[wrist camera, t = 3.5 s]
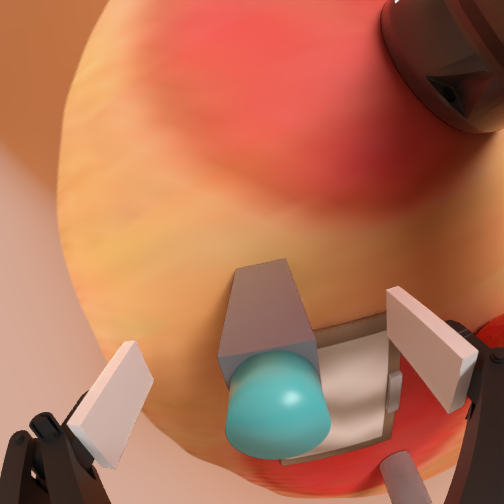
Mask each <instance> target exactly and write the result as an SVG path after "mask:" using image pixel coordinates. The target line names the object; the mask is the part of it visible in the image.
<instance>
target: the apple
mask: <svg viewBox="0 0 504 504" xmlns="http://www.w3.org/2000/svg"><path fill="white" fill-rule="evenodd" d="M476 336H477V337H478V338H479V339H480V340H481V341H483V342H484V343H485V344H486V345H488V346H489V347H490V348H491V349H492V348H495V347H503V348H504V314H503V315H500V316H498V317H496V318H494V319H493V320H491V321H490V322H489V323H488V324H486V325H485V326H484V327H483V328H482V329H481V330H480V331H479V332H478V333H477V334H476Z"/></svg>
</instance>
